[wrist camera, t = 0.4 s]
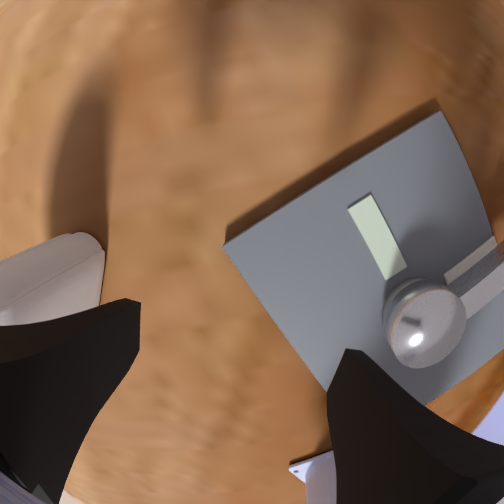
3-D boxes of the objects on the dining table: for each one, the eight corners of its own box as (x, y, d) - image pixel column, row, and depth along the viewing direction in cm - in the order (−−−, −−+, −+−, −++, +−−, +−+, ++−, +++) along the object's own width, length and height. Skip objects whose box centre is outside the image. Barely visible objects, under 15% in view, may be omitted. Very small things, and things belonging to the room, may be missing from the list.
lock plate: (506, 335, 19) (518, 345, 17) (359, 430, 22) (363, 446, 20) (433, 112, 15) (448, 108, 13) (224, 242, 18) (218, 251, 17)
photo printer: (96, 354, 22) (14, 451, 10) (58, 331, 22) (-31, 411, 10) (115, 244, 19) (-24, 324, 7) (69, 222, 19) (-68, 276, 7)
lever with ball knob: (398, 363, 17) (409, 385, 15) (370, 309, 16) (382, 329, 14) (528, 263, 15) (548, 273, 12) (515, 202, 14) (538, 208, 11)
